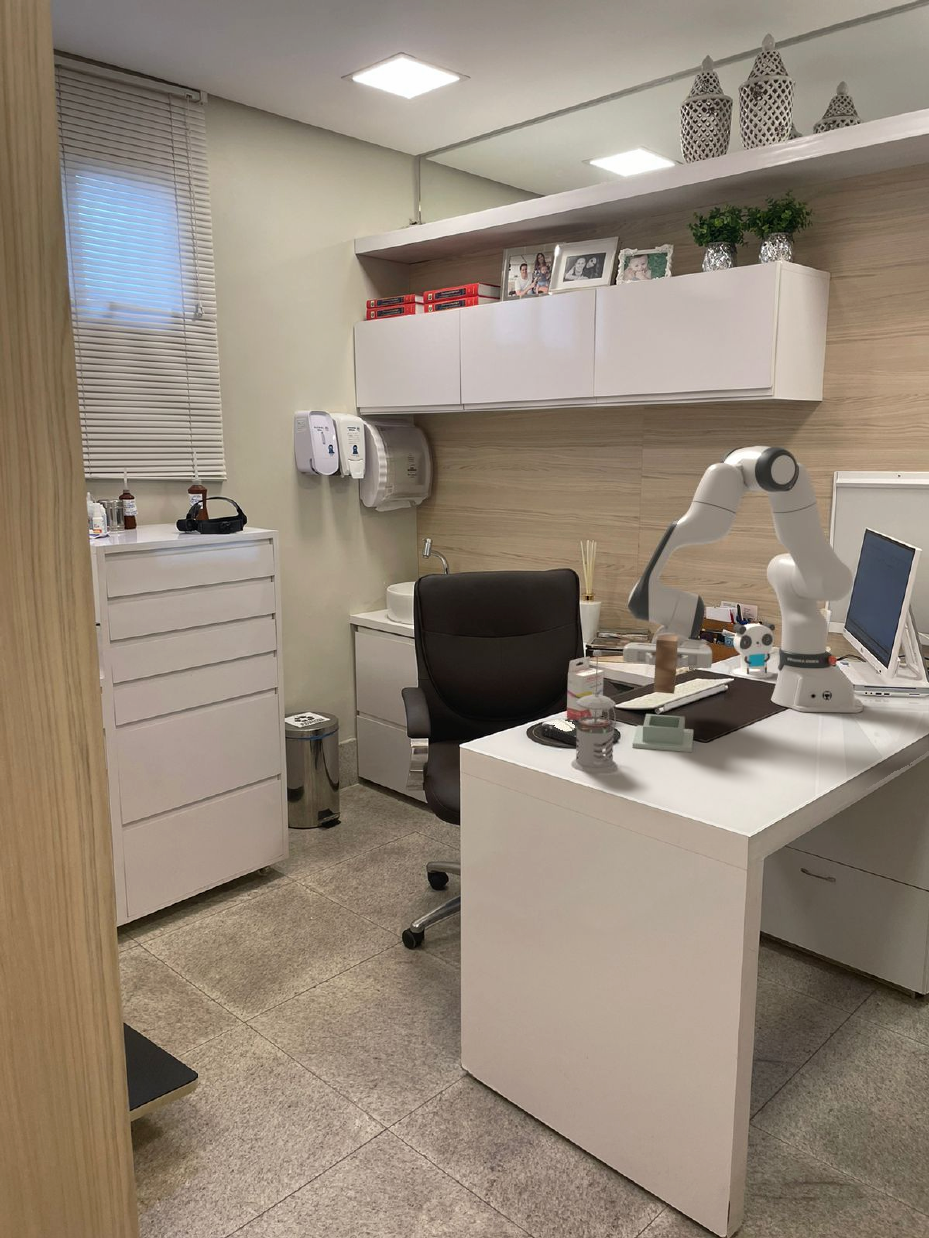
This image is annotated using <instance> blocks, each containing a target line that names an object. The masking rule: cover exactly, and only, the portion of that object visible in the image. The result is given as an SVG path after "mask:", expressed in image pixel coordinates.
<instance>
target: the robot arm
mask: <svg viewBox="0 0 929 1238" xmlns="http://www.w3.org/2000/svg"><path fill="white" fill-rule="evenodd" d="M747 492H751V493H757V492H759V493H760V492H765V493H766V495H767V496H768V501H769V508H770V512H771V517H772V521H773V525H774V530H775V536H776V539H777V541H778V542H779V544H780V545H781V546H783V548H785V550H786V551H787V552H788V553H781V554H778V555H776V556H774V557H773V558H772V559H771V560H770V561H769V563H768V566H767V569H766V578H767V581H768V583H769V584H770V585H771V587H772V589H773V590H774V592H775V594H776V597H777V601H778V605H779V610H780V613H781V614H780V615H781V640H780V641H781V642H780V643H781V644H780V648H779V649H778V654H777V669H778V672H777V678H776V682H775V685H774V689H773V693H772V695H771V698H770V700H771V701H772V702H773V703H774V704H775V705H779V706H782V707H786V708H789V709H793V710H795V711H797V712H803V713H804V712H806V713H808V712H809V713H812V712H813V713H854V714H855V713H860V712H862V711H863V710H864V705H863V703H862V701H861V700H860V699H858V698H857V697H855V689H854V685H853V684H852V682H851V681H850V679H849V678H848V677H847V676H845V675H844V674H843V673H841V671H839V670H838V669H837V668H836V667H834V666H833V665H836V664H837V663H838V659H837V657H836V656H835V655H834V654H832V653H831V652H830V651H827V639H828V638H827V637H828V636H827V635H828V621H827V619H826V617H825V616H824V615H823V614H822V612H821V610H820V607H819V604H818V601H819V602H836V601H837V602H838V601H841V600H842V599H845V597H847V596H848V594H849V593H850V591H851V590H852V586H853V579H854V578H853V573H852V571H851V569H850V567H849V566H847V564H846V563H844V562H843V561H842V560H841V559H840V558H839V557H838V555H837V554H836V552H835V550H834V549H833V546H832V545H831V544H830V542H829V539H828V537H827V535H826V533H825V531H824V527H823V524H822V523H823V522H822V520H821V515H820V510H819V507H818V501H817V496H816V492H815V489H814V486H813V482H812V480H811V477H810V475H809V473H808V470H807V468H806V467H805V465H804V464H802V463H800V462H798V461H797V460H796V457H795V456H794V455H793V454H792V453H791V452H790V451H789V450H787V449H785V448H783V447H779V446H765V445H755V446H748V447H744V446H743V447H736V448H732V449H731V450H729V451H727V452H725V454H724V455H723V456H722V458H720V461H719V462H717V463H714V464H712V465H710V466H708V468H707V469H706V470H705V472H704V474H703V476H702V477H701V480H700V481H699V484H698V485H697V488H696V491H695V493H694V495H693V498H692V501H691V505H690V507H689V508H688V510H687V512H686V513H684V515H683V516H682V517H681V518H678V519H675V520H674V519H673V521H672V522H671V523H670V524H669V525H668V527H667V529H666V530H665V532H664V534H663V535H662V538H661V539H660V541H659V543H658V545H657V547H656V548H655V550H654V552H653V555H652V557H651V558H650V559H649V562H648V564H647V566H646V567H645V569H644V572H643V573H642V575H641V577H640V579H638V581H637V582H636V584H635V585H634V586H633V588H632V590H631V591H630V594H629V596H628V600H627V601H628V602H627V608H628V611H629V612H630V613H631V615H632V616H633V618H634V619H636V620H640V621H645V622H652V623H654V624H658V625H661V626H660V627H659V628H658V629H657V630H656V631H655V632H654V635H653V636H652V640H651V643H650V642H649V643H647V642H630V643H627V644H625V645H624V647H623V650H622V652H623V653H622V654H623V655H622V661H624V662H626V663H629V664H630V663H631V664H643V665H644V664H647V665H650V666H655V658H656V641H657V637H658V635H668V636H678V647H677V659H676V669H681V668H696V669H697V668H699V669H711V668H712V665H713V651H712V648H711V647H710V646H709V645H707V640H706V639H702V638H697V637H698V635H699V633H700V631H701V627H702V626H703V622H704V618H705V607H706V606H705V603H704V600H703V599H702V597H701V596H700V595H699V594H696V593H693V592H690V591H686V590H683V589H679V588H675V587H672V586H669V585H665V584H663V583H661V582H660V581H659V579H660V577H661V574H662V572H663V571H664V569H665V567H666V565H667V563H668V561H669V559H670V557H671V556H672V554H673V553H674V552H675V551H676V550H678V549H680V548H683V547H687V546H699V545H701V546H702V545H710V544H713V543H716V542H719V541H721V540H723V539H725V538H726V537H727V536H728V535H729V533H730V532H731V530H732V528H733V525H734V524H735V520H736V518H737V515H738V512H739V511H738V510H739V508H740V504H741V500H742V498H743V497H744V495H745V494H746V493H747Z"/></svg>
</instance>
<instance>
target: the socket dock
mask: <svg viewBox="0 0 929 1238" xmlns="http://www.w3.org/2000/svg"><path fill="white" fill-rule="evenodd" d="M685 722H686V717H685V716H681V715H680V716H679V715H665V714H652V713H646V714H645V717H644V722H643V725H636V726H637V727H636V729H635V732H634V733H635V734H634V737H633V740H632V746H631V747H632V748H636V749H646V750H647V749H648V750H659V751H673V752H682V753H683V752H684V753H693V741H694V740H693V739H694V729H692V728H691V729H690V728H685V725H686V723H685Z"/></svg>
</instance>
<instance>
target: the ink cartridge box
mask: <svg viewBox="0 0 929 1238" xmlns="http://www.w3.org/2000/svg"><path fill="white" fill-rule="evenodd" d="M579 663H582V664H580V665H579ZM590 663H591V656H584V657H581V658H576V659H572V660H569V664H568V665H569V666H568V673H567V694H566V695H567V696H566V697H567V699H566V702H567V703H566V704H567V705H566V719H569V718H572V719H576V720H579V719H580V718H582V717H588V716H589V717H590V716H595V710H591V709H585V708H582V707H580V706H579V705H578V704H577V701H578V700H579V699H580V698H582V697H585V696H588V695H593V694H596V668H591V667H590ZM604 672H605V671H604V670H602V669H597V694H598V695H603V696H604V675H605V673H604ZM602 715H603V711H602V710H596V716H598V717H602Z"/></svg>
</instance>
